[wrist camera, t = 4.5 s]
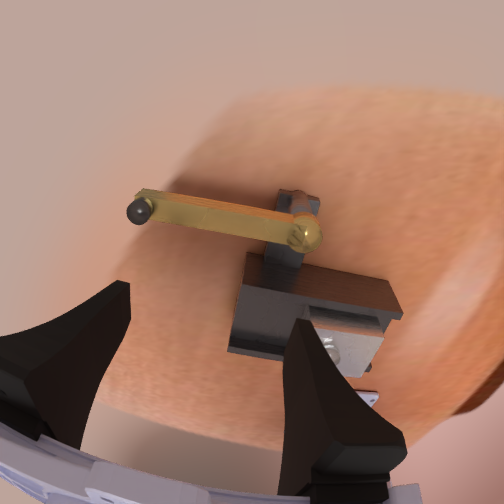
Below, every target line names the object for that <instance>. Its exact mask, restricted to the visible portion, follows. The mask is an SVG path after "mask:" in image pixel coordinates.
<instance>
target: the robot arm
mask: <svg viewBox="0 0 504 504" xmlns="http://www.w3.org/2000/svg"><path fill="white" fill-rule="evenodd" d="M130 321H131V305H130V283H127V282H123V281H119V280H116V281H115V282H113V283H112V284H110V285H109V286H107V287H106V288H104V289H103V290H101V291H100V292H99V293H97V294H96V295H94V296H93V297H91V298H90V299H88V300H87V301H85V302H83V303H82V304H80V305H78V306H77V307H75V308H74V309H72V310H70V311H68V312H67V313H65V314H63V315H61V316H59V317H57V318H55V319H53V320H51V321H49V322H46V323H44V324H41V325H39V326H36V327H33V328H31V329H28V330H25V331H22V332H19V333H15V334H11V335H7V336H1V337H0V477H1V478H3V479H4V480H6V481H7V482H9V483H10V484H12V485H13V486H15V487H17V488H18V489H20V490H22V491H23V492H25V493H26V494H28V495H30V496H32V497H33V498H35V499H37V500H39V501H41V502H42V503H44V504H423V503H422V497H421V492H420V487H419V484H417V483H415V484H407V485H399V486H394V487H392V482H391V478H390V474H389V472H390V471H391V470H393V469H394V468H395V467H396V466H397V465H399V464H400V463H401V462H402V461H403V460H404V459H405V457H406V455H407V449H406V444H405V439H404V436H403V433H402V431H400V430H399V429H398V428H396V427H395V426H393V425H392V424H391V423H389V422H388V421H386V420H385V419H384V418H383V417H381V416H380V415H379V414H378V413H377V412H375V411H374V410H373V409H372V408H371V407H372V406H373V404H374V403H375V402H376V400H377V399H378V398H379V394H378V393H376V392H361V391H355V390H354V389H353V388H352V387H351V386H350V384H349V383H348V382H347V381H346V380H345V378H344V377H343V376H342V374H341V373H340V371H339V370H338V368H337V367H336V365H335V364H334V362H333V360H332V359H331V357H330V355H329V354H328V352H327V350H326V349H325V347H324V345H323V343H322V341H321V339H320V338H319V336H318V334H317V332H316V330H315V328H314V326H313V324H312V322H311V321H310V320H305V319H300V318H296V321H295V323H294V326H293V329H292V332H291V334H290V337H289V340H288V342H287V345H286V348H285V350H284V359H283V388H284V406H285V430H284V444H283V454H282V464H281V473H280V480H279V486H278V494H277V495H265V494H255V493H246V492H238V491H231V490H224V489H217V488H211V487H206V486H200V485H195V484H190V483H186V482H183V481H178V480H174V479H169V478H166V477H161V476H158V475H154V474H150V473H146V472H143V471H139V470H136V469H133V468H129V467H126V466H123V465H120V464H117V463H113V462H110V461H107V460H104V459H101V458H98V457H95V456H93V455H90V454H88V453H85V452H82V451H80V447H81V442H82V438H83V434H84V430H85V427H86V423H87V419H88V416H89V413H90V410H91V407H92V404H93V401H94V398H95V395H96V392H97V390H98V387H99V384H100V382H101V380H102V378H103V375H104V373H105V372H106V370H107V368H108V366H109V364H110V362H111V360H112V359H113V357H114V355H115V353H116V351H117V349H118V348H119V346H120V344H121V342H122V340H123V338H124V336H125V333H126V331H127V328H128V326H129V323H130Z"/></svg>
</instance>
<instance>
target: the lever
mask: <svg viewBox="0 0 504 504" xmlns="http://www.w3.org/2000/svg"><path fill="white" fill-rule="evenodd" d="M127 217H128V219H129V220H130V221H131V222H132V223H134V224H136V225H142V224H144V223H146V222H147V220H154V221H159V222H165V223H171V224H176V225H182V226H187V227H193V228H198V229H204V230H209V231H215V232H220V233H226V234H231V235H237V236H242V237H248V238H253V239H258V240H264V241H269V242H274V243H280V244H285V245H289V246H290V247H291V248H292V249H293V250H294V251H296V252H299V253H309V252H312V251H314V250H315V249H317V248H318V247H319V245H320V244H321V241H322V231H321V228H320V224H319V221H318V219H317V218H316V217H315V216H314V215H313V214H311V213H309V212H297V213H295V214H293V215H292V214H287V213H282V212H277V211H272V210H267V209H261V208H256V207H251V206H245V205H240V204H234V203H229V202H223V201H217V200H212V199H206V198H200V197H194V196H188V195H182V194H176V193H170V192H163V191H157V190H150V189H144V188H143V189H142V190H141V191H139V192H138V193H137V194H136V195H135V200H134V201H133V202H132V203H131V204H130V205H129V206H128V208H127Z"/></svg>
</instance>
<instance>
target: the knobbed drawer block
mask: <svg viewBox="0 0 504 504" xmlns="http://www.w3.org/2000/svg"><path fill="white" fill-rule="evenodd" d="M302 319H305V320H310V321H311V322H312V324H313V326H314V328H315V330H316V332H317V334H318V336H319V338H320V339H321V341H322V343H323V345H324V347H325V349H326V350H327V352H328V354H329V355H330V357H331V359H332V360H333V362H334V364H335V365H336V367H337V368H338V370H339V371H340V373H341V374H342V376H345V377H356V378H361V376H362V375H363V373H364V371H365V370H366V368H367V367H368V365H369V363H370V362H371V360H372V358H373V357H374V355H375V354H376V352H377V350H378V348H379V347H380V345H381V343H382V342H383V340H384V338H385V337H384V334H383V332H382V329H381V326H380V323H379V320H378V318H377V317H376V316H370V315H364V314H357V313H351V312H345V311H340V310H334V309H328V308H322V307H317V306H311V305H307V306H306V308H305V311H304V314H303V316H302Z"/></svg>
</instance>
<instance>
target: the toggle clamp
mask: <svg viewBox="0 0 504 504" xmlns="http://www.w3.org/2000/svg"><path fill="white" fill-rule="evenodd" d="M319 205H320V200H319V198H317V197H313V196H308V195H306V194H305V193H304V192H303V191H299V190H296V191H293V192H291V191H286V190H282V189H280V191H279V195H278V199H277V203H276V207H275V211H277V212H282V213H287V214H292V215H293V214H295V213H297V212H309V213H311V214H313V215H314V216H315V217H316V215H317V212H318V208H319ZM304 255H305V253H299V252H296V251H294V250H293V249H292V248H291V247H290V246H289V245H285V244H280V243H274V242H269V241H267V244H266V248H265V253H264V256H263V255H258V254H253V253H248V252H247V255H246V259H245V264H244V268H243V273H242V278H241V282H240V287H239V292H238V296H237V301H236V306H235V310H234V315H233V320H232V326H231V332H230V337H229V343H228V349H227V352H231V353H236V354H241V355H247V356H252V357H258V358H264V359H270V360H276V361H282V362H283V359H284V350H285V348H286V345H287V342H288V340H289V337H290V334H291V332H292V329H293V326H294V323H295V321H296V318H300V319H302V316H303V314H304V311H305V308H306V306H307V305H311V306H317V307H322V308H328V309H334V310H340V311H345V312H351V313H357V314H364V315H370V316H376V317H377V318H378V320H379V323H380V326H381V329H382V332H383V334H384V332H385V330H386V329H387V327H388V325H389V323H390V321H391V320H392V319H395V320H400V319H401V317H402V315H403V314H404V313H403V311H402V309H401V307H400V305H399V303H398V300H397V298H396V296H395V294H394V292H393V290H392V288H391V286H390V284H389V282H388V281H386V280H381V279H376V278H371V277H366V276H361V275H356V274H351V273H346V272H341V271H336V270H331V269H327V268H322V267H317V266H312V265H307V264H302V261H303V258H304ZM371 368H372V365H371V362H370V363H369V365H368V367H367V368H366V370H365V371H364V372H369V371H370V370H371Z"/></svg>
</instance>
